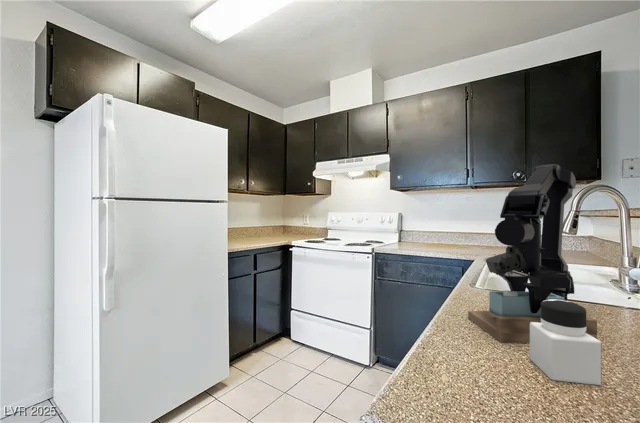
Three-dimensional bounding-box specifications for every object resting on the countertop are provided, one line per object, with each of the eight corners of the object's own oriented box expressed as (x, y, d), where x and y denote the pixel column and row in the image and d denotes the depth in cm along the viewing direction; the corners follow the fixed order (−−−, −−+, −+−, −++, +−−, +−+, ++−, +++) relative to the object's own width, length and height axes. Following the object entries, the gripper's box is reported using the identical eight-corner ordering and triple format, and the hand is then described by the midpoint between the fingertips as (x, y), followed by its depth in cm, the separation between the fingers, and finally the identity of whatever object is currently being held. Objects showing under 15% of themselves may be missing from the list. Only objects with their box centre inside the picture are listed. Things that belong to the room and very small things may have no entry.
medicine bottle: (602, 386, 45) (602, 310, 46) (551, 380, 47) (551, 307, 47) (572, 363, 52) (572, 297, 53) (528, 359, 54) (529, 295, 54)
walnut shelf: (546, 319, 74) (546, 300, 74) (597, 344, 60) (597, 320, 60) (468, 318, 75) (468, 299, 75) (500, 342, 61) (500, 319, 61)
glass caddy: (547, 312, 70) (547, 289, 70) (564, 319, 65) (564, 295, 65) (489, 311, 70) (489, 289, 70) (501, 319, 65) (501, 294, 65)
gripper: (471, 239, 77) (471, 297, 77) (517, 247, 59) (517, 323, 58) (513, 239, 77) (513, 297, 77) (573, 247, 58) (573, 324, 58)
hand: (525, 309), depth 68 cm, fingers closed on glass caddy, 5 cm apart
